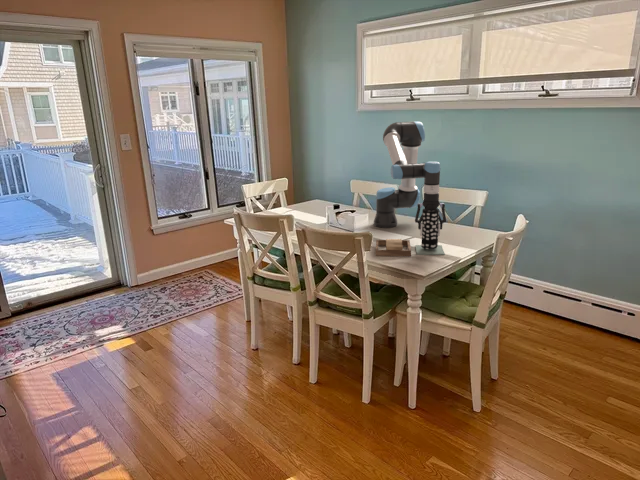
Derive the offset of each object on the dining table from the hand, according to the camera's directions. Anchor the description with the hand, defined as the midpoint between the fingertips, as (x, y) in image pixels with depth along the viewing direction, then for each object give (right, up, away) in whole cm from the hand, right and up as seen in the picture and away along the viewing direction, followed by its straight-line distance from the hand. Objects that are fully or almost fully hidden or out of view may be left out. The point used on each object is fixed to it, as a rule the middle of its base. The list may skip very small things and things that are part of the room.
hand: (429, 235), depth 232 cm
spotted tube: (0, -6, +2) cm, 7 cm away
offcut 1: (-19, -5, -1) cm, 20 cm away
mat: (0, -8, +2) cm, 8 cm away
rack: (-18, -8, +5) cm, 21 cm away
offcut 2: (-19, -8, 0) cm, 20 cm away
